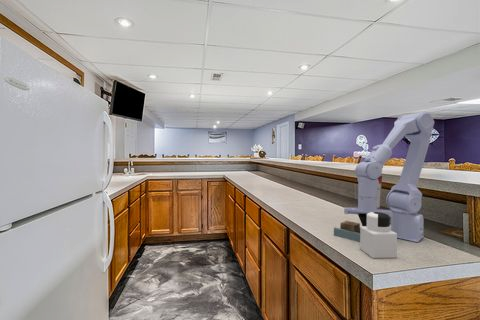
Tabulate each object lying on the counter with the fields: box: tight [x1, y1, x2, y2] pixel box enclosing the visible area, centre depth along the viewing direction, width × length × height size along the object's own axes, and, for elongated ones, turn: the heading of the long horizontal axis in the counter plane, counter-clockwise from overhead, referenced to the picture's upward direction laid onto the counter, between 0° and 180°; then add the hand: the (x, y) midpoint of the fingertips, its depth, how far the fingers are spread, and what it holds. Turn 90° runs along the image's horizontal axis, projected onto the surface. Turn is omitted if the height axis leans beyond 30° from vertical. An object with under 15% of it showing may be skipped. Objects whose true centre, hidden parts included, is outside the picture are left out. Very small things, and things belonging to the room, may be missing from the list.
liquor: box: [377, 175, 383, 209], centre depth 119 cm, size 7×7×28 cm
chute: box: [333, 227, 360, 243], centre depth 90 cm, size 10×8×2 cm
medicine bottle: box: [359, 212, 398, 259], centre depth 74 cm, size 7×7×12 cm
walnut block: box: [339, 220, 361, 233], centre depth 90 cm, size 5×4×4 cm
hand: (366, 235), depth 86 cm, fingers closed
